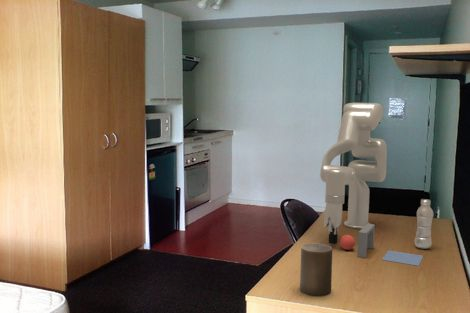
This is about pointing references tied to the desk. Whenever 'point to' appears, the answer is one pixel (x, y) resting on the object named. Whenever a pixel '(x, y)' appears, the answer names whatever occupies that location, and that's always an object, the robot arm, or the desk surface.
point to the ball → (347, 242)
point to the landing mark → (403, 258)
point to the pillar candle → (316, 269)
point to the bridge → (365, 240)
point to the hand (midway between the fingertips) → (332, 243)
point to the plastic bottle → (424, 225)
